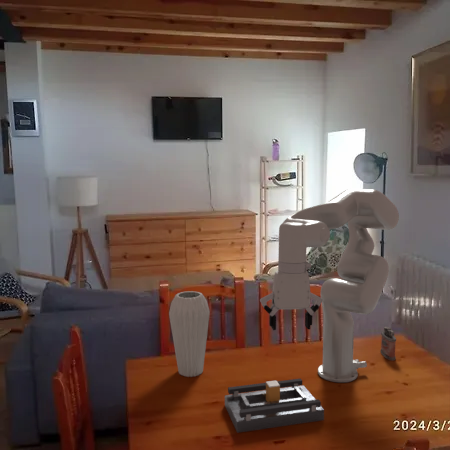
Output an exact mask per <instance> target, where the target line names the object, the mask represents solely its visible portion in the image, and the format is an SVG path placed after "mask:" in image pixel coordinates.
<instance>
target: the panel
mask: <svg viewBox="0 0 450 450" xmlns="http://www.w3.org/2000/svg"><path fill="white" fill-rule="evenodd" d="M310 400H317V399H316V398H315V397H314V395H312V394H311V392H310V391H309V390H308V389H307V388H306V387H305V385H303V384H302V385H299V386H295V387H294V388H293V387H284V388H280V400H279V401H271V402H267V400H266V390H260V391H252V392H244V393H238V397H234V396H233V394H226V395H224V407H225V409H226V411H227V413H228V416H229V417H230V420H231V421H232V424H233V426H234V429H235V431H236V433H237V434H238V433H243V432H245V433H246V432H252V431H258V430H265V429H271V428H278V427H285V426H292V425H298V424H299V425H300V424H305V423H306V424H307V423H313V422H319V421H325V409H324V407H323V406H322V405H321V407H316V411H313V412H312V411H311V410H310V409H301V410H294V411H287V412H280V413H273V414H266V415H259V416H251V420H249V421H246V419H245V417H244V418H241V417H240V415H239V410H243V409H251V408H258V407H266V406H273V405H280V404H288V403H295V402H302V401H310Z"/></svg>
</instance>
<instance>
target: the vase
mask: <svg viewBox="0 0 450 450" xmlns="http://www.w3.org/2000/svg"><path fill="white" fill-rule="evenodd" d="M209 307H210V306H209V303H208V301H207V299H206V297H205V296H204V294H203V293H202V292H200V291H193V290H191V291H189V290H188V291H181V292H177V294H174V297H173V298H172V301H171V303H170V307H169V312H168V316H169V321H170V328H171V333H172V334H171V335H172V340H173V346H174V352H175V360H176V366H177V370H178V374H179V375H181V376H184V377H187V378H189V377H190V378H192V377H196V376H200V375H202V373H203V371H204V365H205V356H206V348H207V340H208V339H207V338H208V332H209V331H208V330H209V322H210V321H209V320H210V311H211V310H210V308H209Z"/></svg>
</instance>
